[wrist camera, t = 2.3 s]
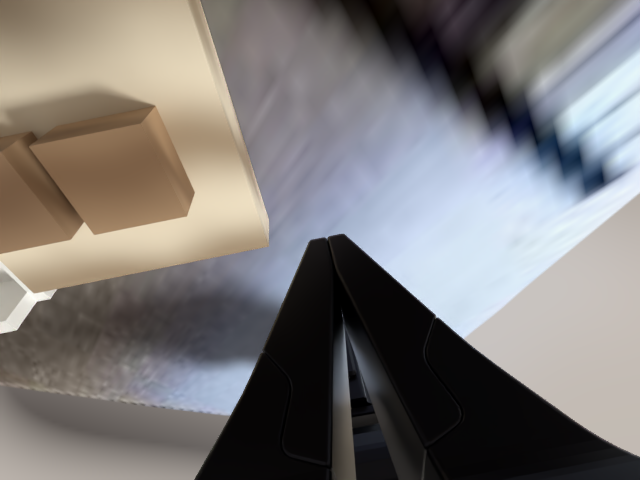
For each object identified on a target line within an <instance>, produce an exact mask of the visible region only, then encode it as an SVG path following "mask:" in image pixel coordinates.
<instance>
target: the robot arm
mask: <svg viewBox="0 0 640 480" xmlns="http://www.w3.org/2000/svg"><path fill="white" fill-rule="evenodd" d="M341 310H342V311H341ZM342 315H343V316H342ZM343 319H344V322H343ZM262 351H263V352H262V353H261V354H260V356H259V358H258V361H257V363H256V365H255V368H254V370H253V372H252V374H251V376H250V379H249V381H248V383H247V385H246V387H245V389H244V391H243V394H242V395H241V397H240V399H239V401H238V403H237V405H236V407H235V408H234V410H233V412H232V414H231V416H230V418H229V420H228V421H227V423H226V425H225V427H224V428H223V430H222V432H221V434H220V435H219V437H218V439H217V441H216V443H215V444H214V446H213V448H212V450H211V451H210V453H209V455H208V456H207V458H206V460H205V462H204V464H203V465H202V467H201V469H200V470H199V472H198V474H197V476H196V478H195V479H194V480H640V457H639V456H637V455H634V454H632V453H630V452H628V451H626V450H623V449H621V448H619V447H617V446H615V445H613V444H612V443H609V442H608V441H606V440H604V439H602V438H600V437H599V436H597V435H596V434H594V433H592V432H591V431H589V430H587V429H586V428H584V427H583V426H581V425H580V424H578V423H577V422H575V421H574V420H573V419H571V418H570V417H568V416H567V415H566V414H564V413H563V412H561V411H560V410H559V409H557V408H556V407H555V406H553V405H552V404H550V403H549V402H547V401H546V400H545V399H543V398H542V397H540V396H539V395H538V394H536V393H535V392H533V391H532V390H531V389H529V388H528V387H526V386H525V385H524V384H522V383H521V382H520V381H518V380H517V379H515V378H514V377H513V376H511V375H510V374H508V373H507V372H506V371H504V370H503V369H501V368H500V367H499V366H497V365H496V364H495V363H493V362H492V361H491V360H489V359H488V358H487V357H485V356H484V355H483V354H481V353H480V352H479V351H477V350H476V349H475V348H473V347H472V346H471V345H470V344H468V343H467V342H466V341H465V340H464V339H463V338H462V337H460V336H459V335H458V334H457V333H456V332H454V331H453V330H452V329H451V328H450V327H449V326H448V325H446V324H445V323H444V322H443V321H442V320H441V319H440V318H436V315H435V314H434V313H433V312H432V311H430V310H429V309H428V308H427V307H426V306H425V305H424V304H423V303H421V302H420V301H419V300H418V299H417V298H416V297H415V296H414V295H412V294H411V293H410V292H409V291H408V290H407V289H406V288H405V287H403V286H402V285H401V284H400V283H399V282H398V281H397V280H396V279H394V278H393V277H392V276H391V275H390V274H389V273H388V272H387V271H385V270H384V269H383V268H382V267H381V266H380V265H379V264H378V263H376V262H375V261H374V260H373V259H372V258H371V257H370V256H368V255H367V254H366V253H365V252H364V251H363V250H362V249H361V248H359V247H358V246H357V245H356V244H355V243H354V242H353V241H352V240H350V239H349V238H348V237H347V236H346V235H345V234H338V235H333V236H329V237H328V239H326V238H325V237H323V238H318V239H313V240H310V241H309V243H308V245H307V248H306V250H305V252H304V255H303V257H302V259H301V262H300V264H299V266H298V269H297V271H296V273H295V276H294V278H293V280H292V282H291V285H290V287H289V289H288V292H287V294H286V296H285V299H284V301H283V303H282V306H281V308H280V310H279V313H278V315H277V317H276V320H275V322H274V324H273V326H272V329H271V331H270V333H269V336H268V338H267V340H266V343H265V345H264V347H263V350H262Z"/></svg>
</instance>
